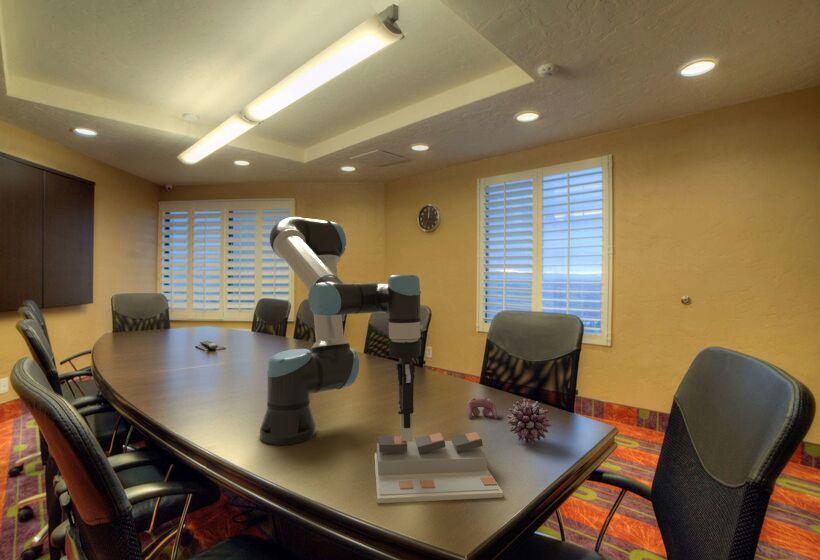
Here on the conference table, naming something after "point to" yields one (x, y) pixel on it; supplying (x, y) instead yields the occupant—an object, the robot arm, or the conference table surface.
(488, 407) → the video game controller
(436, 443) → the middle switch
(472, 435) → the right switch
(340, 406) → the conference table surface
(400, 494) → the switch panel
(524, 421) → the flower
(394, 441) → the left switch
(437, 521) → the conference table surface
